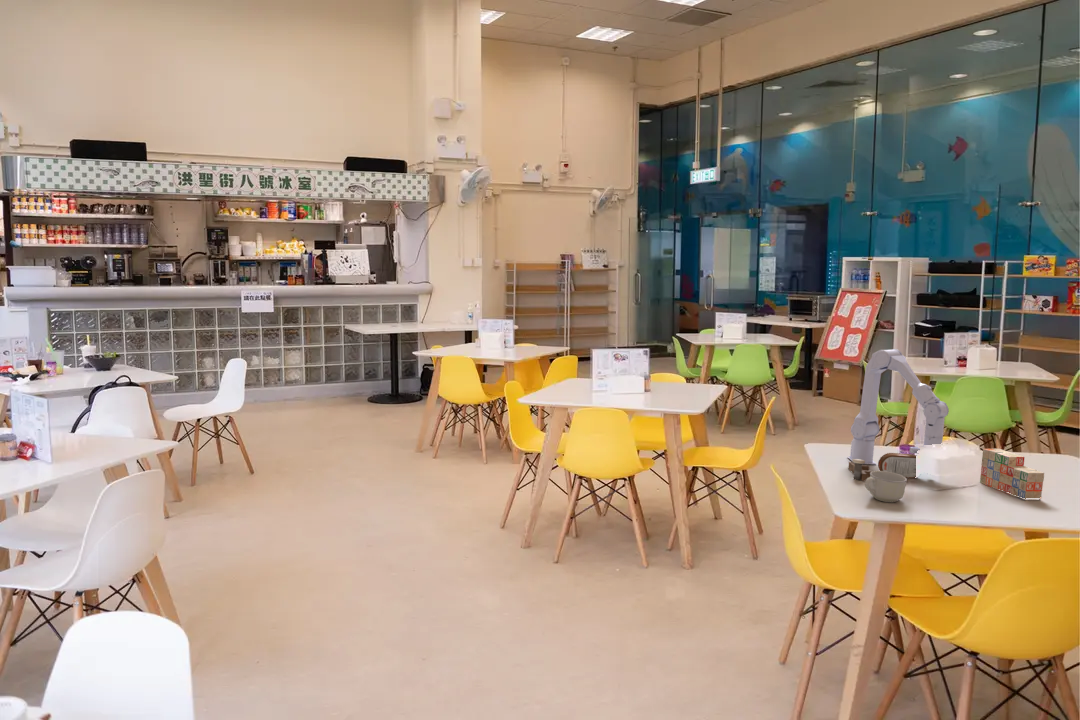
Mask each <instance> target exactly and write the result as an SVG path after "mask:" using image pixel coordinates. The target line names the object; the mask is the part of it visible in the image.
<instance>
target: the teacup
mask: <svg viewBox="0 0 1080 720" xmlns="http://www.w3.org/2000/svg"><path fill="white" fill-rule="evenodd" d="M871 471H872V472H870V477H869V478H867V479H866V481H864V487H865V488H866V490H867V491H869V494H871V495H872V496H873V498H874V499H875V500H877V501H881V502H885V503H895V502H898V501H899V500H901V499H902V498H903V497H904V495H905V491H906V486H907V485H906V484H907V481H908V480H907V479H908V478H905V477H904V476H902V475H899V474H896V473H892V472H887V471H880V470H871Z"/></svg>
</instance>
